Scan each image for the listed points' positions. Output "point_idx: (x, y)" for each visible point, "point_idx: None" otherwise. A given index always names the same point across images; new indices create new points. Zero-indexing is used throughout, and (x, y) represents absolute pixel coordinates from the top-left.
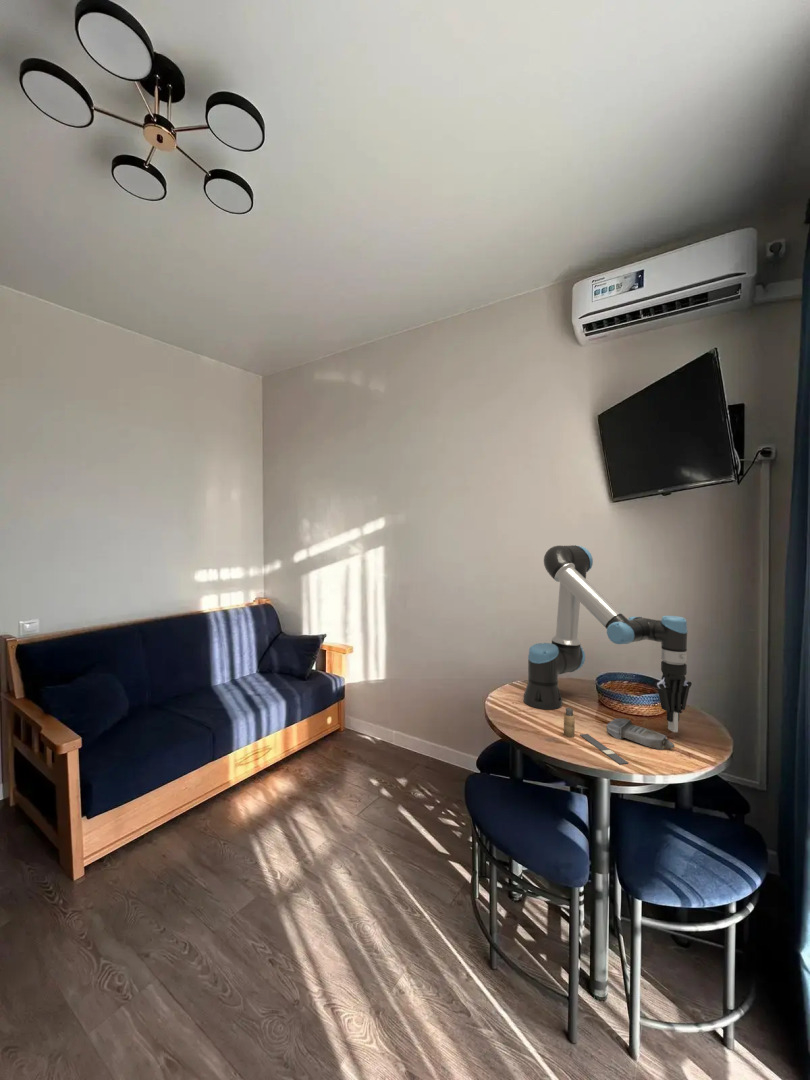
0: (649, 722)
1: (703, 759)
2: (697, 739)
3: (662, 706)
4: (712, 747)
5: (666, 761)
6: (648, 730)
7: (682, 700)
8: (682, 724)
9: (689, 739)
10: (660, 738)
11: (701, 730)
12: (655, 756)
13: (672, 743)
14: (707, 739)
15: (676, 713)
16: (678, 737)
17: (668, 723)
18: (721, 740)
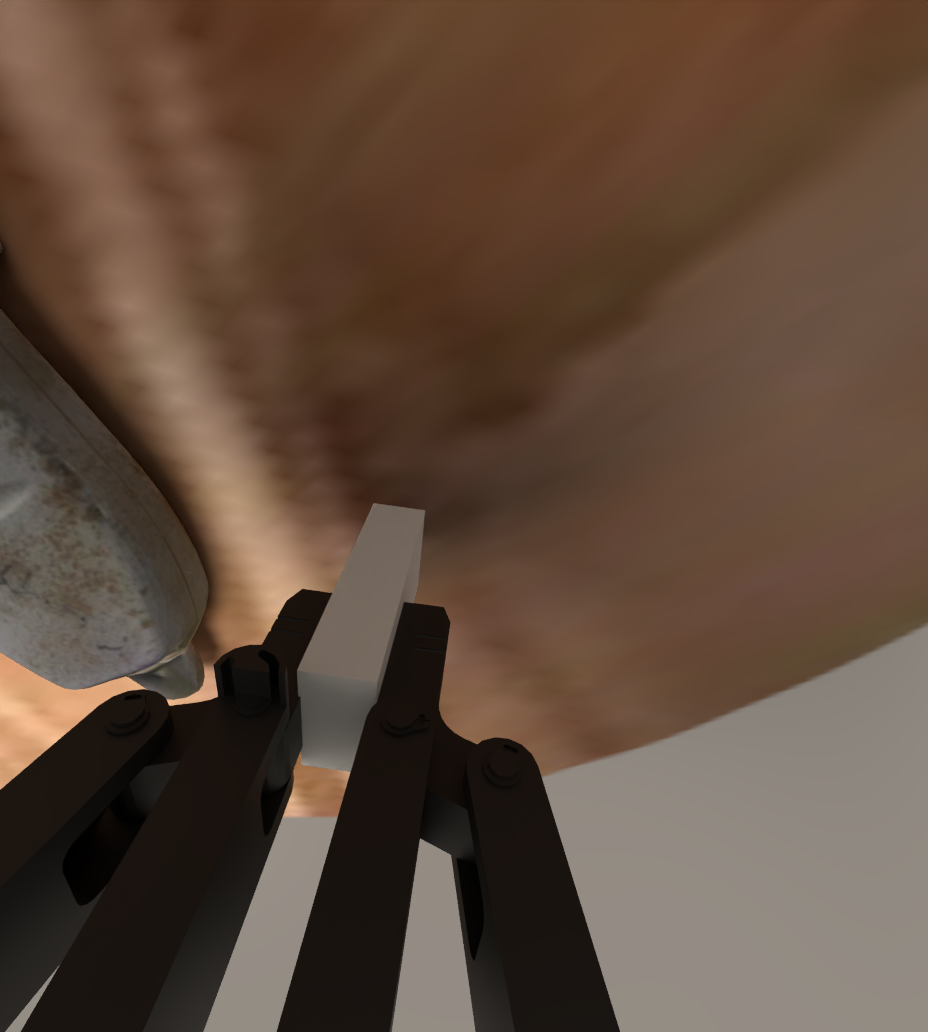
0: (496, 53)
1: (323, 778)
2: (594, 611)
3: (81, 754)
4: (558, 719)
5: (55, 725)
6: (34, 532)
7: (480, 1016)
8: (891, 297)
9: (521, 589)
10: (63, 676)
11: (881, 501)
12: (13, 670)
13: (175, 698)
14: (682, 637)
15: (341, 765)
16: (458, 532)
17: (357, 547)
18: (777, 682)
